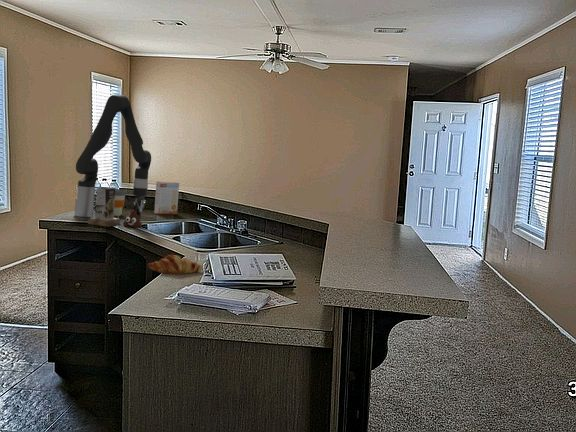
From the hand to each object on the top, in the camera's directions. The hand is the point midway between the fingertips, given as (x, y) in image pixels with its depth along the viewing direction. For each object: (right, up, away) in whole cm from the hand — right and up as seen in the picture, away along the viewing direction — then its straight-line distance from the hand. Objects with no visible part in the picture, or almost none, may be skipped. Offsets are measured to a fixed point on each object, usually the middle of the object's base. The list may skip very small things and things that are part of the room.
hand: (138, 218), depth 326 cm
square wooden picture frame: (-17, -3, -6) cm, 18 cm away
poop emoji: (-2, -5, -4) cm, 6 cm away
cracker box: (+2, +2, +61) cm, 61 cm away
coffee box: (-17, 0, -6) cm, 18 cm away
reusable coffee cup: (-23, +2, +33) cm, 41 cm away
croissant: (+39, -20, -100) cm, 109 cm away
